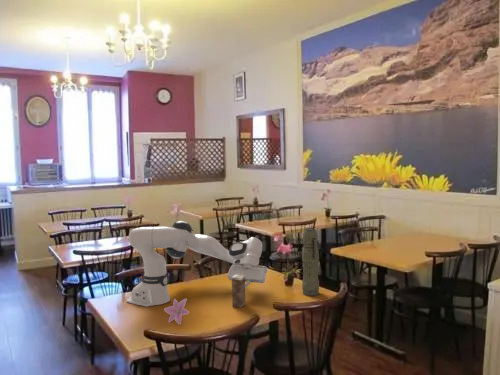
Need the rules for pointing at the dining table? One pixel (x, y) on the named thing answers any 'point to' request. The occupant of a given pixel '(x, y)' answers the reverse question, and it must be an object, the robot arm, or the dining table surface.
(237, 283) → the grey rectangular block
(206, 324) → the dining table surface
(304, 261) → the thermos
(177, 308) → the lily
